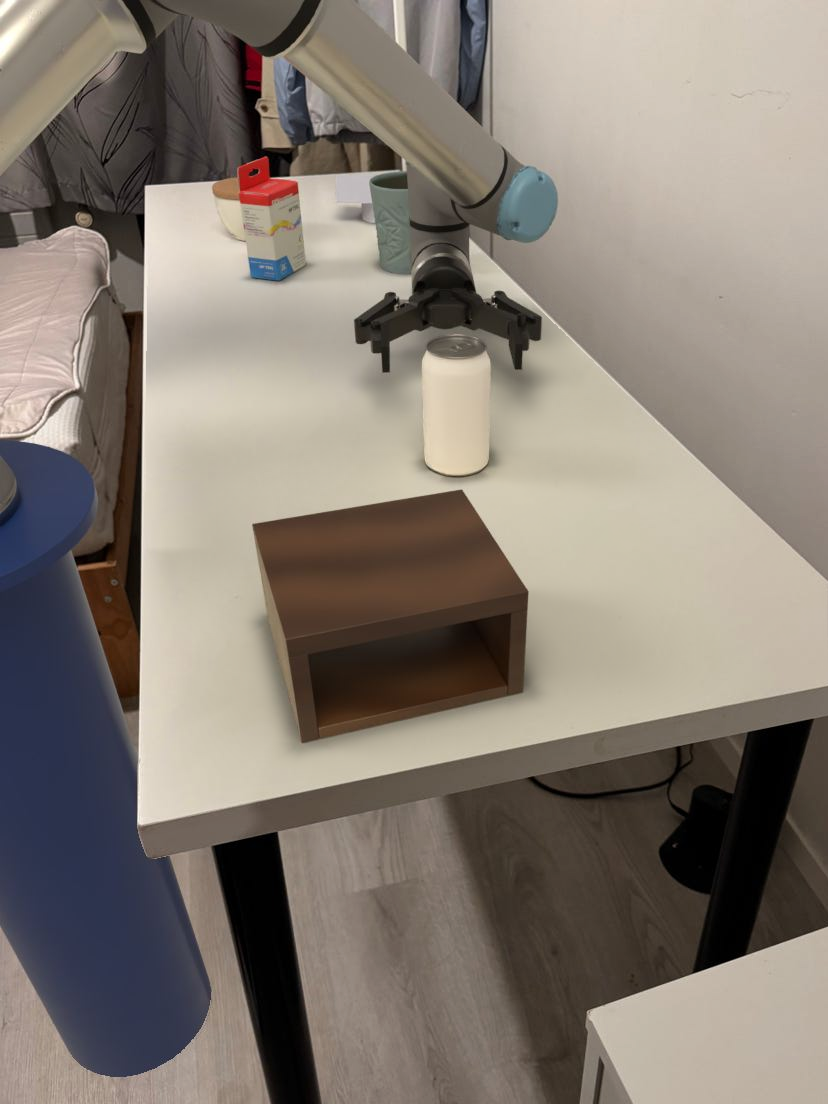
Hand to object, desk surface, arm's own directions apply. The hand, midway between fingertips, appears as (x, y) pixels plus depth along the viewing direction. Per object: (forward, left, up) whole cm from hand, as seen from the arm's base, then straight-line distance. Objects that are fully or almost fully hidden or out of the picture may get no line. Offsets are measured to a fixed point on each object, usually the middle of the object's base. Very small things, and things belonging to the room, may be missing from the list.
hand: (452, 358), depth 94 cm
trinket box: (-75, -10, -8) cm, 76 cm away
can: (+8, -2, -8) cm, 11 cm away
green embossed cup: (-53, +10, -8) cm, 55 cm away
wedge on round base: (-80, +12, -8) cm, 82 cm away
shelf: (+35, -16, -7) cm, 39 cm away
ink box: (-56, -9, -8) cm, 58 cm away
